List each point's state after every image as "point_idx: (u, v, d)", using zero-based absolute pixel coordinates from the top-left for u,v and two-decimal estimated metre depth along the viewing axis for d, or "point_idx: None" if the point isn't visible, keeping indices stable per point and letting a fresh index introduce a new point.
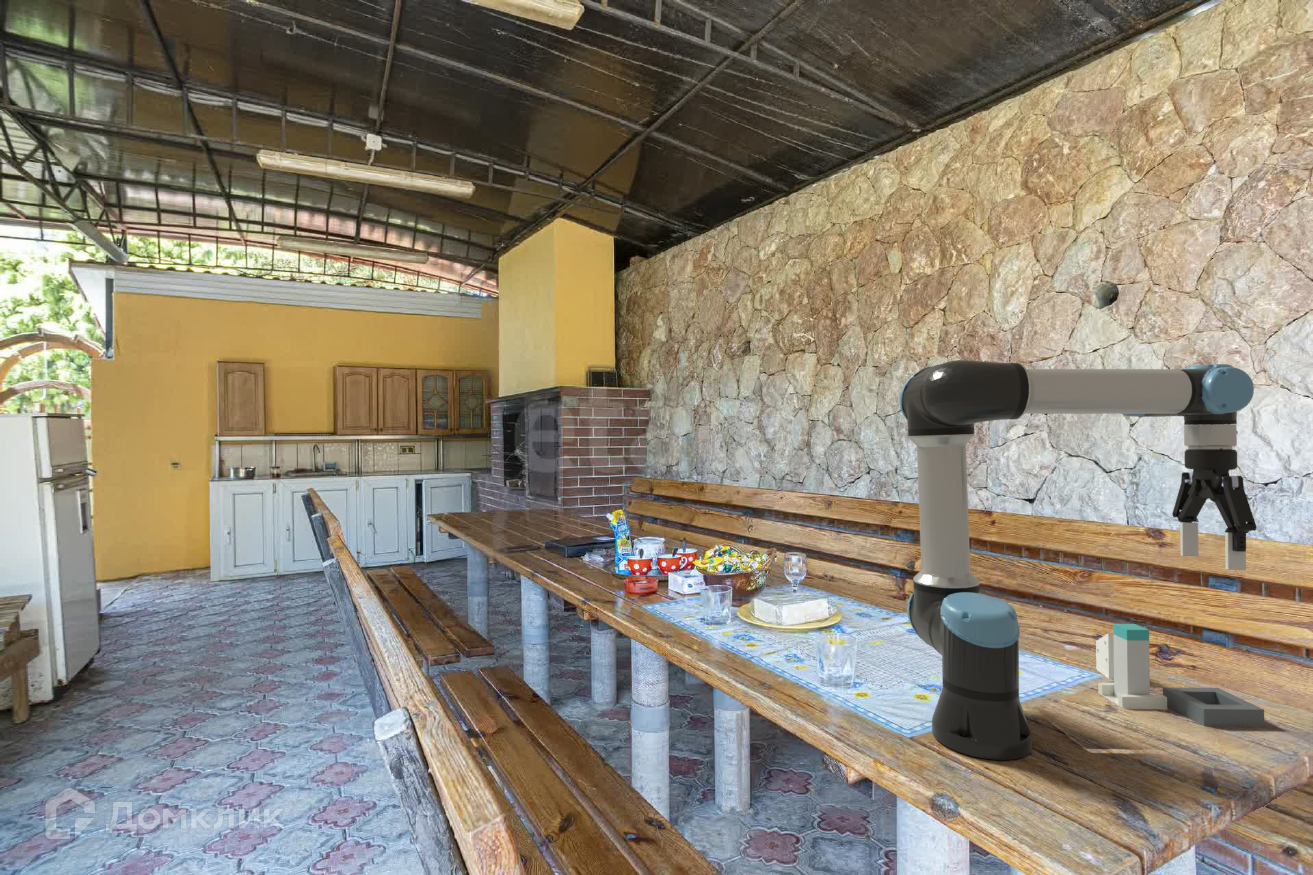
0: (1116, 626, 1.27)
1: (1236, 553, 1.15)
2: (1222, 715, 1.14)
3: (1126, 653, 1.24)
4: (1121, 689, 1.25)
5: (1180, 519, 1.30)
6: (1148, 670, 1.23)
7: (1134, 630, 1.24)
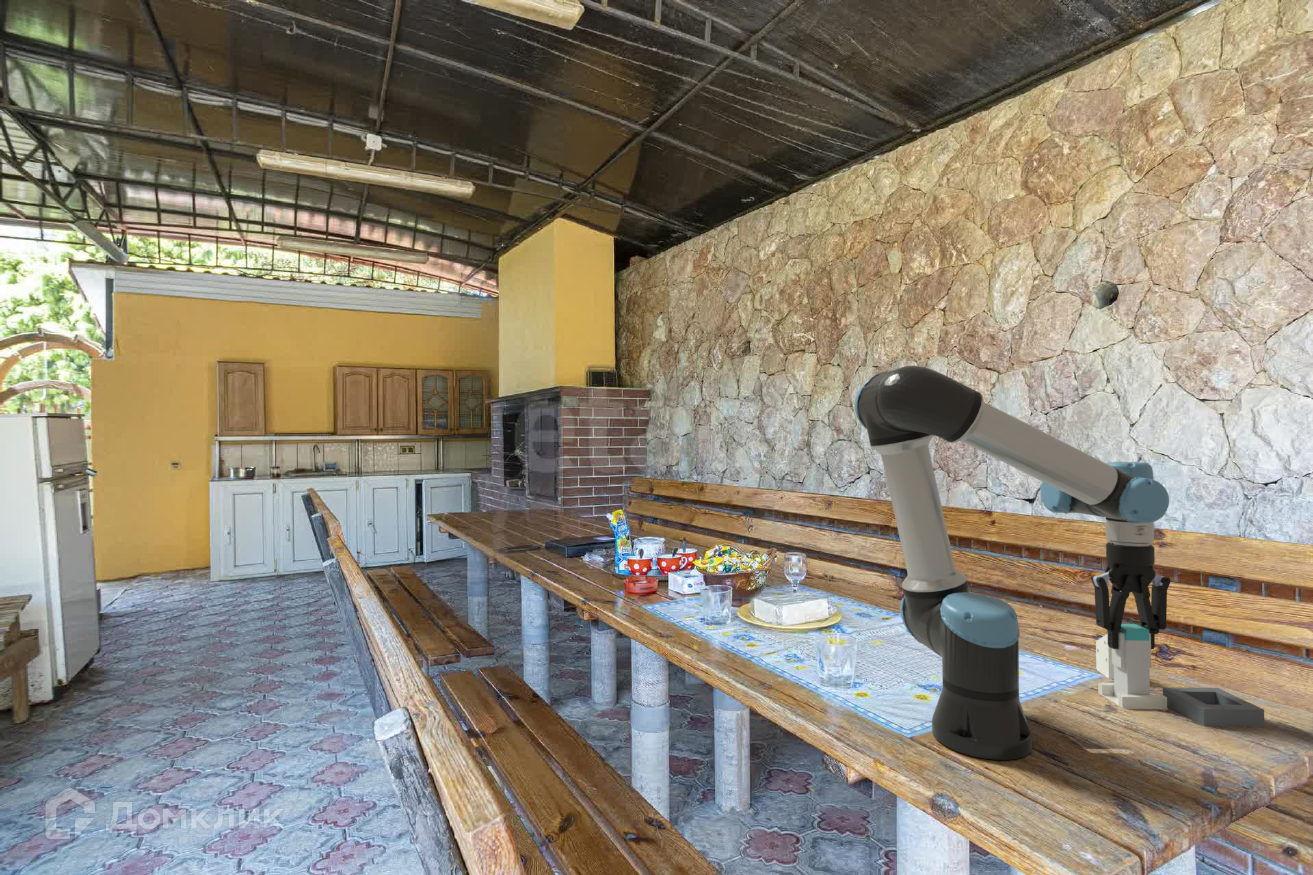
0: None
1: (1115, 650, 1.26)
2: (1222, 715, 1.14)
3: (1126, 653, 1.24)
4: (1121, 689, 1.25)
5: None
6: (1148, 670, 1.23)
7: (1134, 630, 1.24)
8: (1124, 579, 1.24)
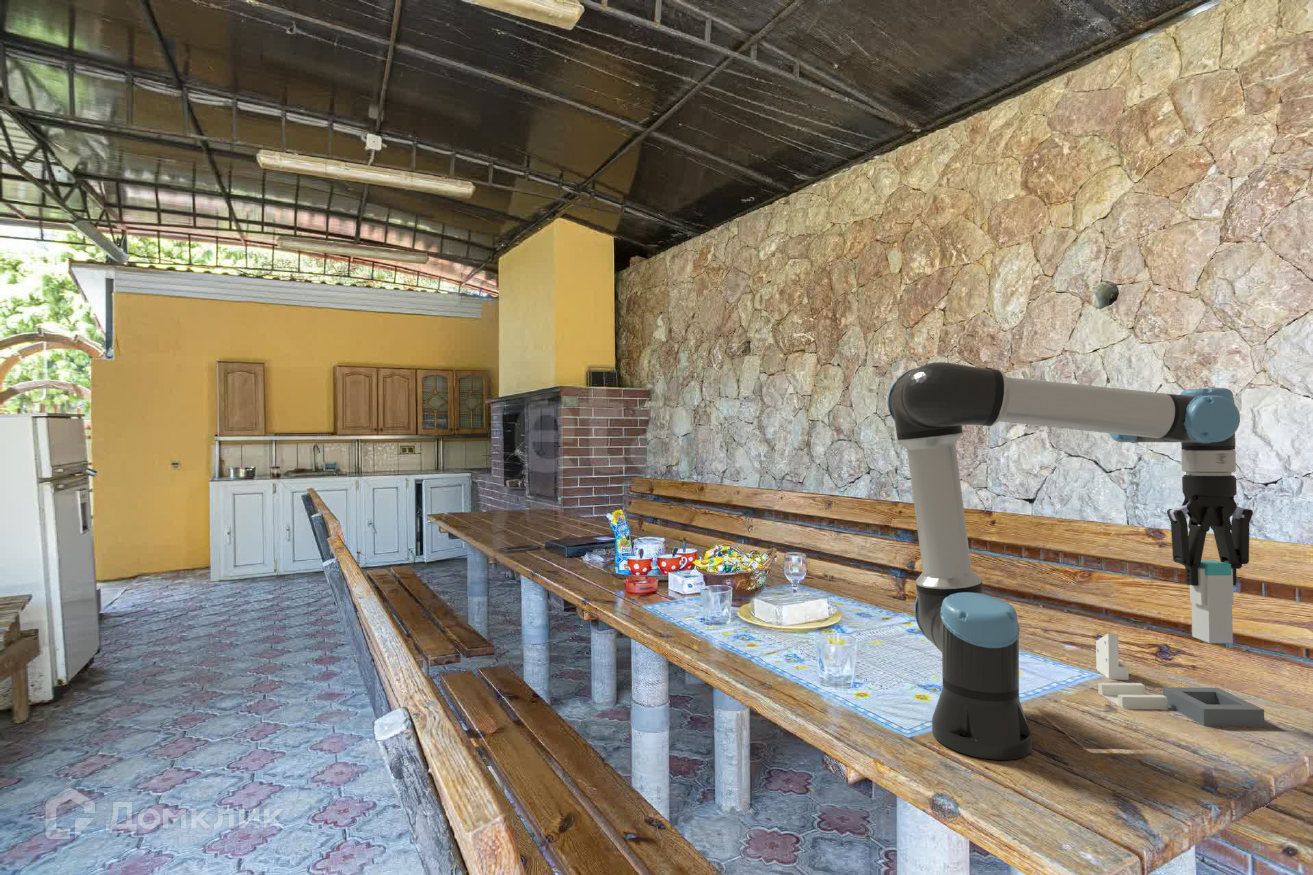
0: None
1: (1195, 587, 1.19)
2: (1222, 715, 1.14)
3: (1207, 589, 1.17)
4: (1201, 628, 1.19)
5: None
6: (1231, 606, 1.17)
7: (1215, 565, 1.17)
8: (1203, 511, 1.18)
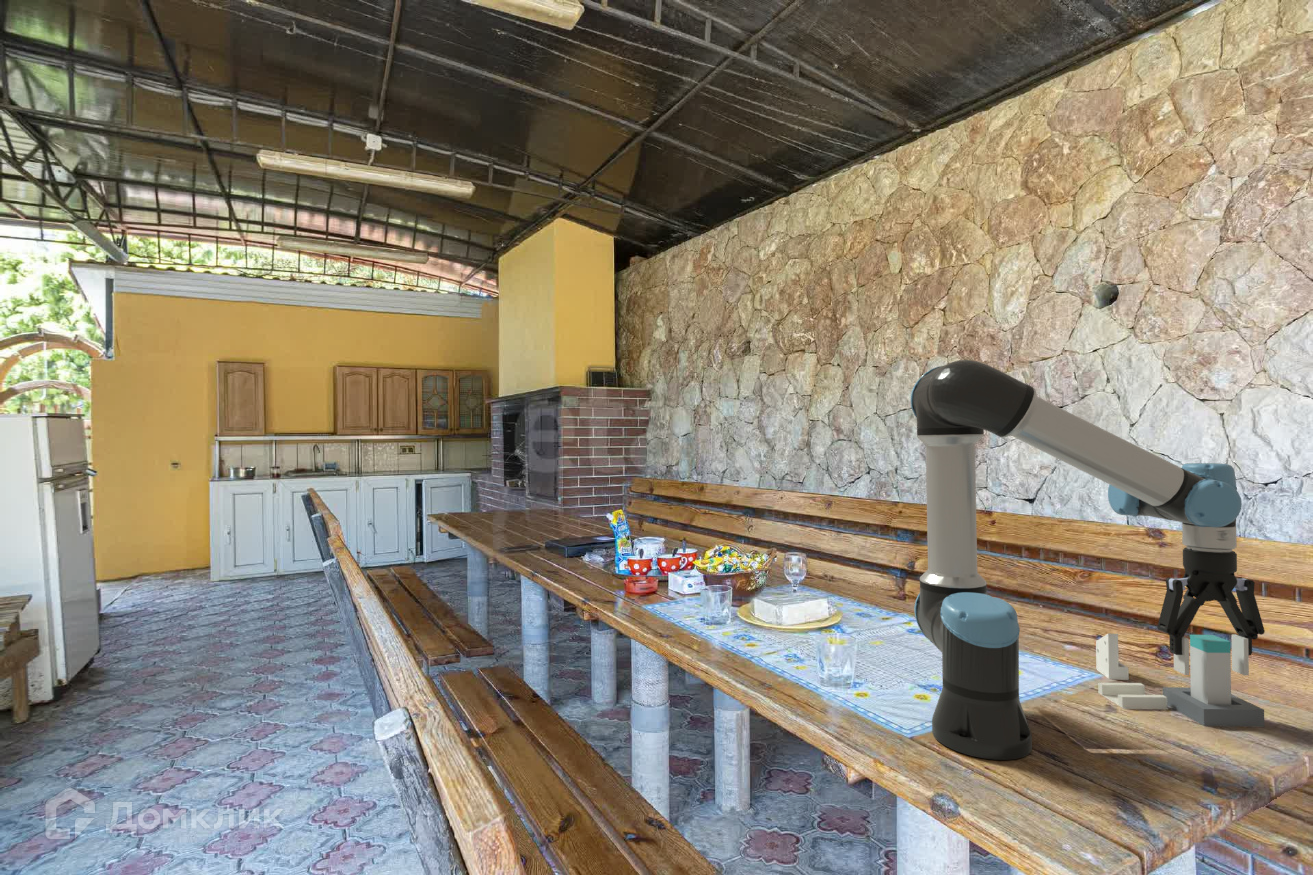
0: (1193, 637, 1.20)
1: (1178, 656, 1.19)
2: (1222, 715, 1.14)
3: (1206, 666, 1.17)
4: None
5: None
6: (1230, 684, 1.17)
7: (1214, 642, 1.17)
8: (1203, 586, 1.18)
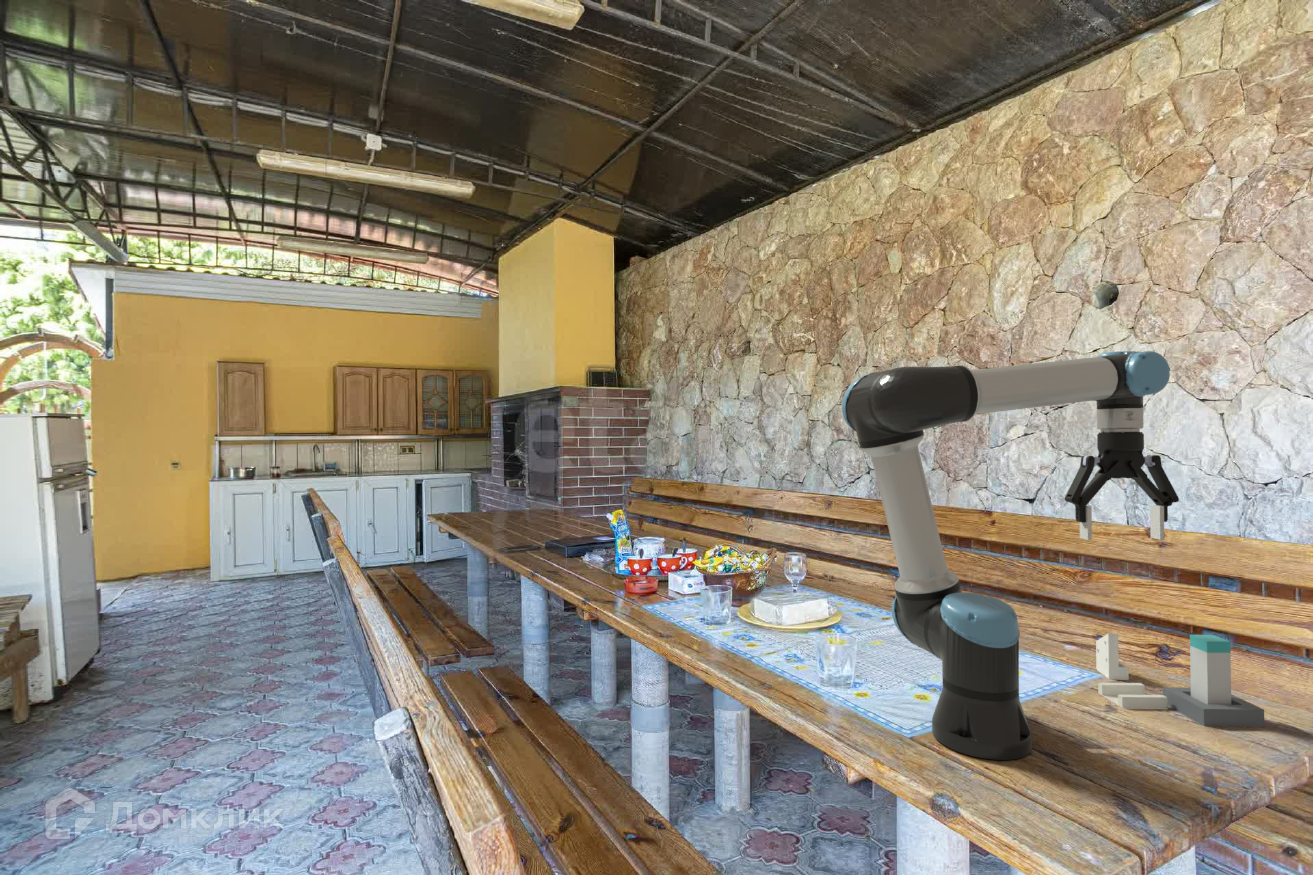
0: (1193, 637, 1.20)
1: (1083, 524, 1.30)
2: (1222, 715, 1.14)
3: (1206, 666, 1.17)
4: None
5: None
6: (1230, 684, 1.17)
7: (1214, 642, 1.17)
8: (1114, 463, 1.28)
